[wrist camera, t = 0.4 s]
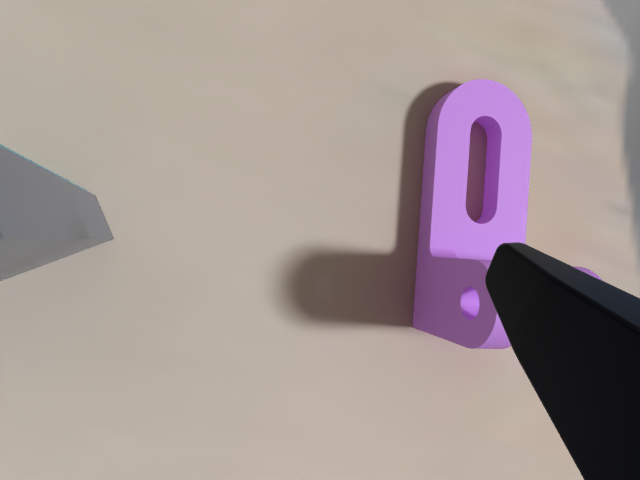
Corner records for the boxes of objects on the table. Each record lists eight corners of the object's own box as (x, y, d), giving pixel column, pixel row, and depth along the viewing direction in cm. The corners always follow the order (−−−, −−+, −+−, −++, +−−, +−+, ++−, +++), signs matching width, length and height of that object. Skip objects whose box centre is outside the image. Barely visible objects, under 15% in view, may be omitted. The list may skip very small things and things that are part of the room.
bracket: (502, 329, 27) (609, 358, 20) (411, 326, 25) (494, 357, 19) (517, 96, 27) (627, 49, 21) (428, 79, 26) (515, 23, 19)
